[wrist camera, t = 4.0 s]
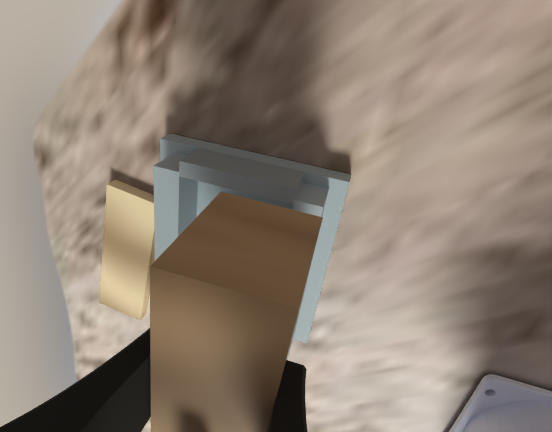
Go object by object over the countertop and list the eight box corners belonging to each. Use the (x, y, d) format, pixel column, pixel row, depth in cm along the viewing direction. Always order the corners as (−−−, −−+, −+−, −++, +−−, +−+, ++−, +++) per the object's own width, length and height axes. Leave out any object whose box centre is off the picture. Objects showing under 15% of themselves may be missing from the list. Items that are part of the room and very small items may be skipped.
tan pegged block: (281, 379, 16) (232, 566, 10) (204, 354, 16) (118, 521, 11) (323, 217, 12) (280, 378, 6) (221, 191, 12) (98, 320, 7)
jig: (309, 330, 22) (300, 372, 19) (169, 289, 23) (142, 322, 20) (351, 174, 17) (346, 200, 14) (170, 133, 18) (135, 150, 15)
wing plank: (150, 308, 25) (140, 320, 24) (110, 291, 25) (99, 302, 24) (169, 195, 20) (157, 204, 19) (120, 176, 21) (107, 184, 20)
